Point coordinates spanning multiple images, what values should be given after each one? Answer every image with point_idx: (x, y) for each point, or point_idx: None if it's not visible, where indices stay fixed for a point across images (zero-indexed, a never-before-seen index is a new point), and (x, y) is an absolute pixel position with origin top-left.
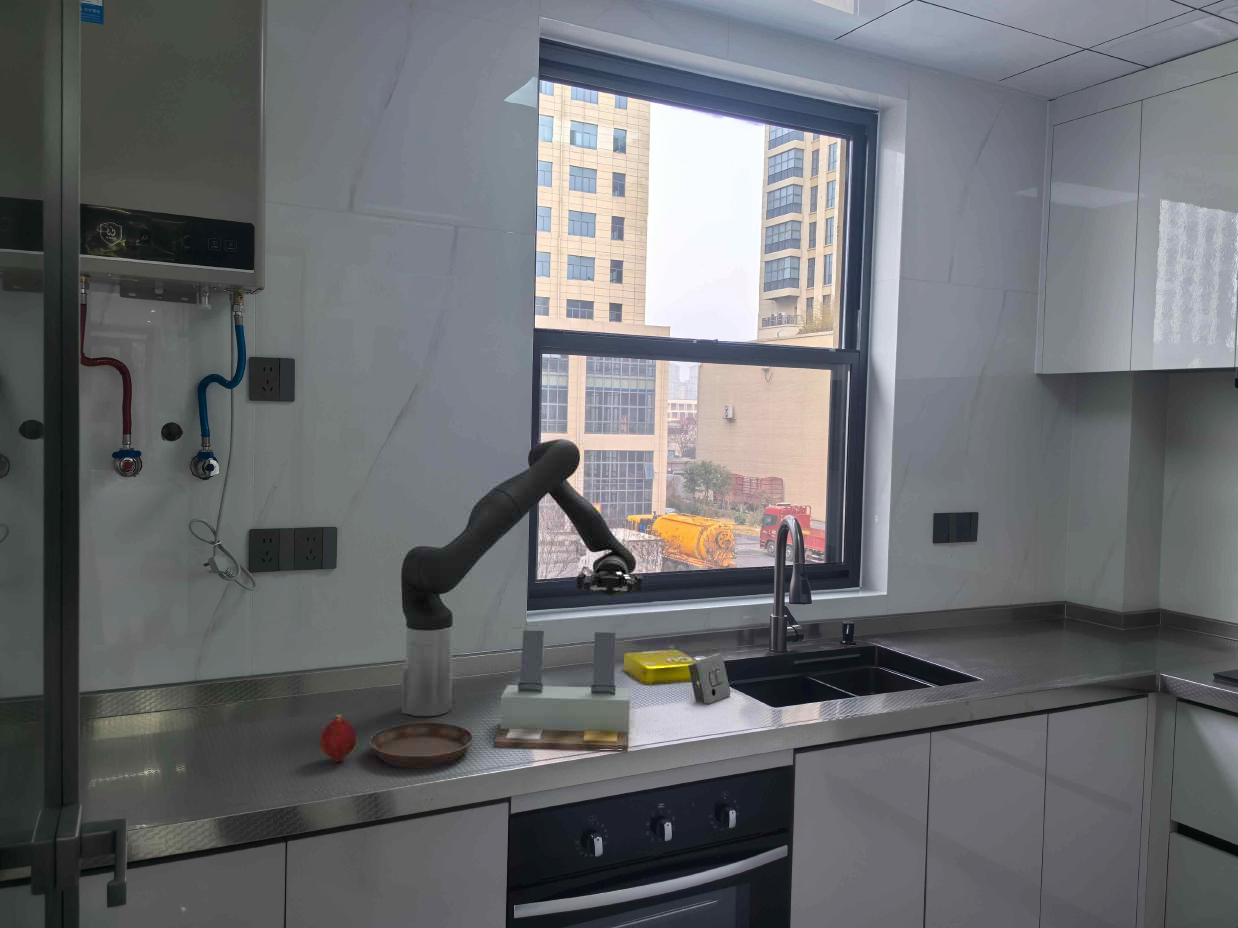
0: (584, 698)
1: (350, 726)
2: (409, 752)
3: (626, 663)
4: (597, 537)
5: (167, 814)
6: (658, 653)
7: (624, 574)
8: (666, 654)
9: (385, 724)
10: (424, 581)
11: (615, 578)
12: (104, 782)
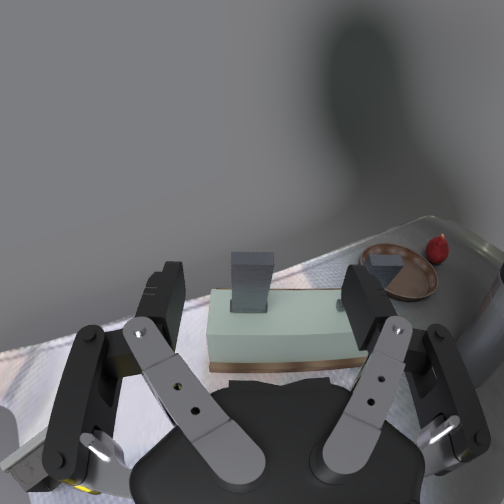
0: (272, 292)
1: (434, 242)
2: (402, 273)
3: None
4: None
5: (436, 221)
6: None
7: (169, 390)
8: None
9: (465, 323)
10: None
11: (239, 387)
12: (484, 241)
